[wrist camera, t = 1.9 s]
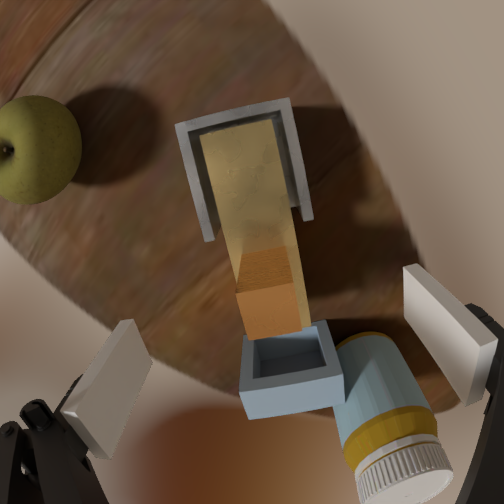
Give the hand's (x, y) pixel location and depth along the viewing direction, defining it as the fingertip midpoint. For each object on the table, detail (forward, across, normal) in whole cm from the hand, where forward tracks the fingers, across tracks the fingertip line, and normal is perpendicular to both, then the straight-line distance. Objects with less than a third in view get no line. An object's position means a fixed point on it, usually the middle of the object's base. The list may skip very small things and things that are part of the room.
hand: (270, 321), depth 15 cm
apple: (+10, -14, +12) cm, 21 cm away
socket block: (+10, 0, -8) cm, 13 cm away
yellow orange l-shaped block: (+9, 0, +2) cm, 9 cm away
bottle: (+11, +6, -12) cm, 17 cm away
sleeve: (+10, 0, +6) cm, 12 cm away
